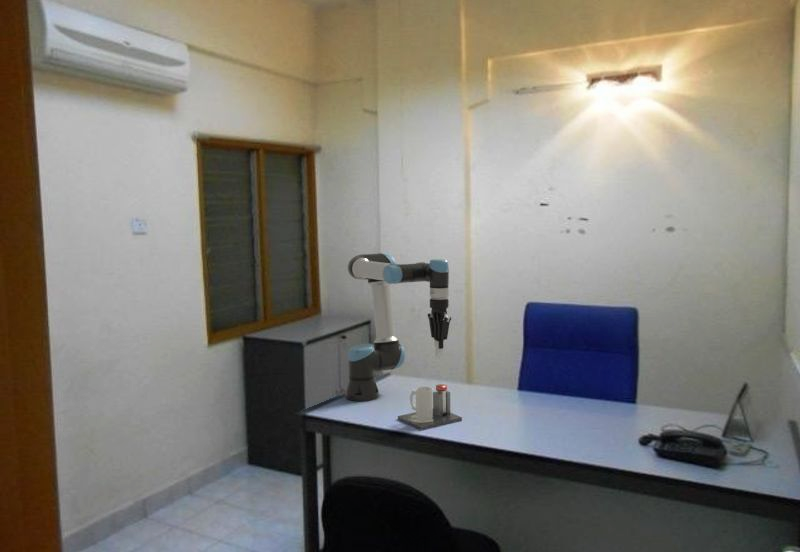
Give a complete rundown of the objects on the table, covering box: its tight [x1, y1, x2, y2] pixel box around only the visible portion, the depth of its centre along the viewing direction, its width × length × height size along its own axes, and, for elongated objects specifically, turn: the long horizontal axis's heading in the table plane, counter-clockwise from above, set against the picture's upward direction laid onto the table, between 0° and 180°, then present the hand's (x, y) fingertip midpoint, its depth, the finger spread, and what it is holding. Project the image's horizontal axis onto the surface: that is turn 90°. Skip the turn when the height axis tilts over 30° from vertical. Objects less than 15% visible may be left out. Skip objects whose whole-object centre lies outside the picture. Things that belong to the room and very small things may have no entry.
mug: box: [409, 386, 434, 421], centre depth 238 cm, size 10×7×12 cm, turn 55°
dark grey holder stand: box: [397, 390, 463, 431], centre depth 240 cm, size 16×20×10 cm
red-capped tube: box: [435, 384, 448, 413], centre depth 243 cm, size 4×4×11 cm
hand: (439, 356), depth 243 cm, fingers closed
